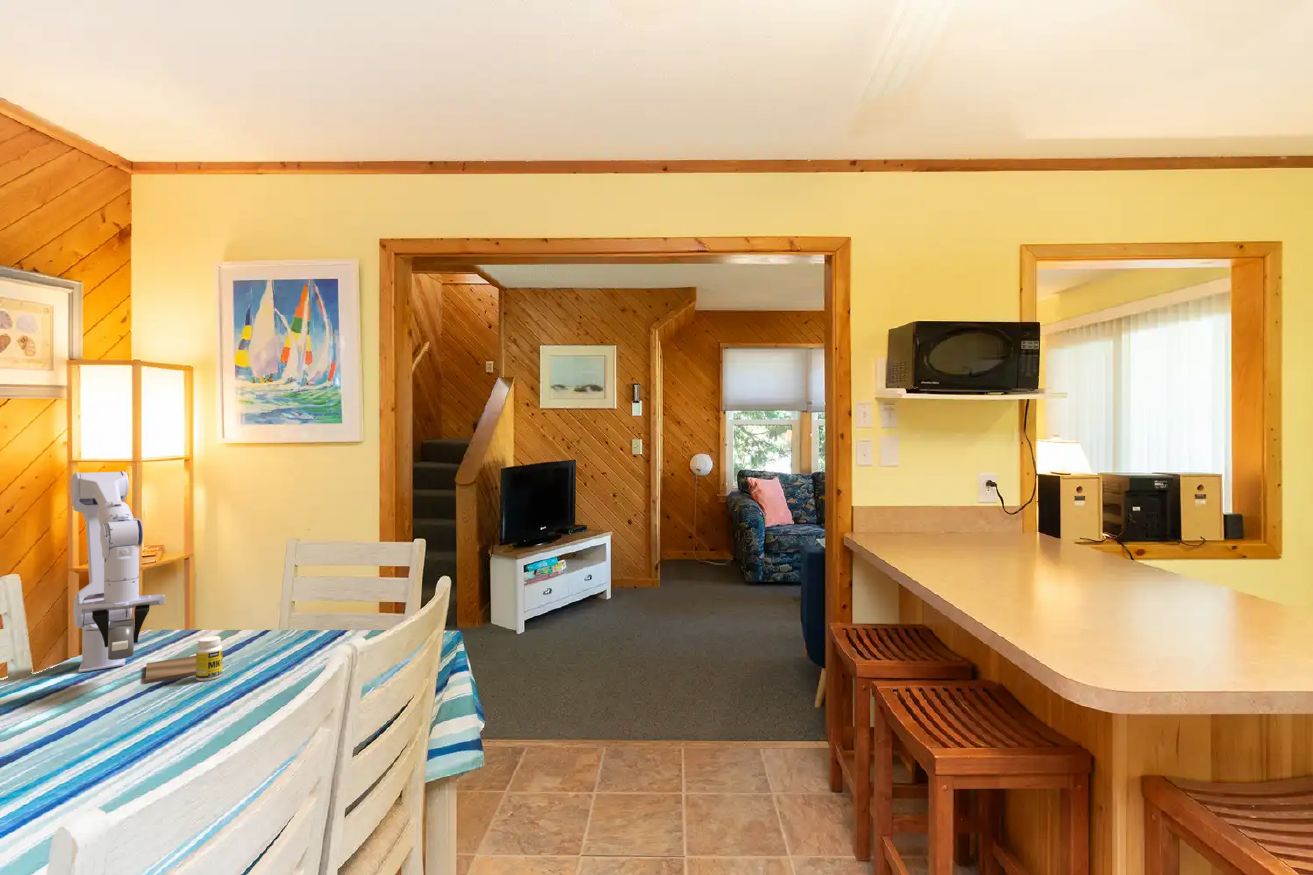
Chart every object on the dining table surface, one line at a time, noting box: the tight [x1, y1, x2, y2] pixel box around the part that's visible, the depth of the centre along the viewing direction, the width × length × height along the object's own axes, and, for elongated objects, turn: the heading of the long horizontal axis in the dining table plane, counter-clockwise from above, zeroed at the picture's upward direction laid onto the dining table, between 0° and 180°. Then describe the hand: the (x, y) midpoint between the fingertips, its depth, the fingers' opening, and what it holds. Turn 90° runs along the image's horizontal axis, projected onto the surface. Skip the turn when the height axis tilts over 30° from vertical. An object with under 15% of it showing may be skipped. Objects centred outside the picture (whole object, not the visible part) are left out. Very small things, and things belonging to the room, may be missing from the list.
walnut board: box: [144, 655, 196, 684], centre depth 150 cm, size 13×12×1 cm
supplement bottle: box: [195, 635, 223, 682], centre depth 144 cm, size 5×5×8 cm
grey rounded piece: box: [108, 616, 135, 660], centre depth 139 cm, size 13×4×6 cm, turn 36°
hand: (121, 643), depth 140 cm, fingers closed on grey rounded piece, 4 cm apart
